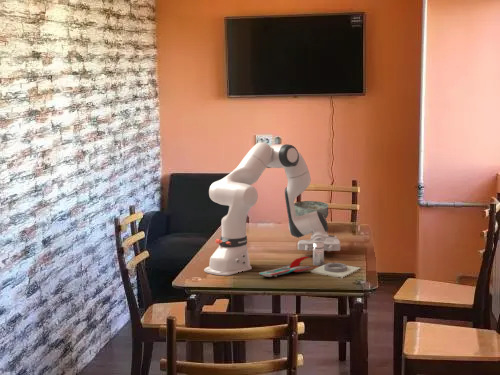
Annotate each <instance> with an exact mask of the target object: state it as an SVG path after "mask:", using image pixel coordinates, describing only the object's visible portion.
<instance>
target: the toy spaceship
mask: <svg viewBox="0 0 500 375" xmlns="http://www.w3.org/2000/svg"><path fill="white" fill-rule="evenodd" d="M308 258H310V257H309V256H301V257H298V258H296V259H294V260H293V261H292V262H291V263H290V264H287V265H285V266H283V267H279V268H274V269H271V270H265V271H260V272H257V274H258V275H260V276H264V277H266V278H267V277H269V278H271V277H274V278H277V277H278V276H281V275H282V276H283V275H285V274H289V273H291V272H295V273H301V272H307V271H311V270H312V269H315V268H318V266H312V267H311V266H310V265H305V266H301V264H303V262H302V261H304V260H305V259H308ZM301 262H302V263H301Z"/></svg>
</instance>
